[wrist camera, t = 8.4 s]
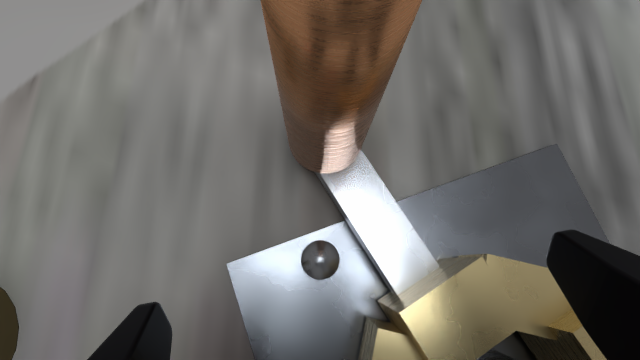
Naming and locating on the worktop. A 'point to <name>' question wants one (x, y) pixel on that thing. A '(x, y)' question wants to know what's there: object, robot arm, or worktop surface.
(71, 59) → the worktop surface
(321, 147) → the copper cylinder with bracket
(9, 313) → the pepper mill
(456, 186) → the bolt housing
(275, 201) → the worktop surface
